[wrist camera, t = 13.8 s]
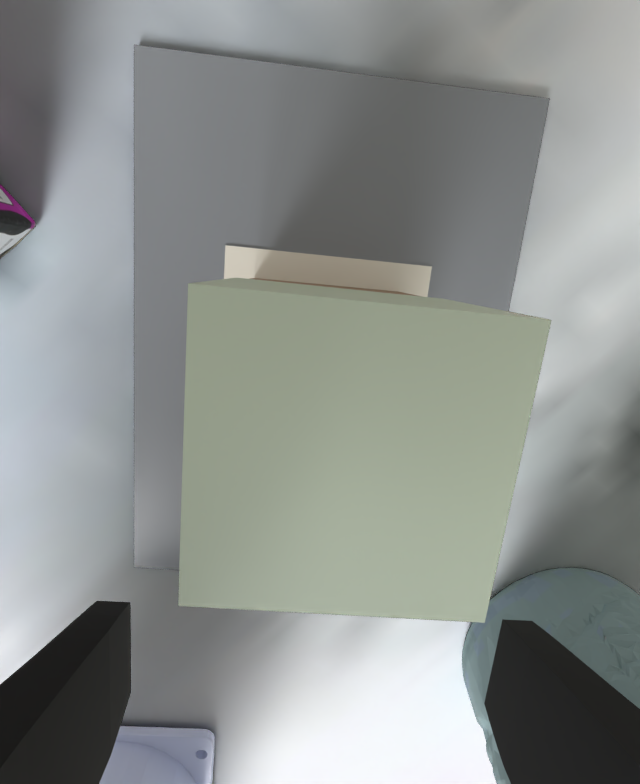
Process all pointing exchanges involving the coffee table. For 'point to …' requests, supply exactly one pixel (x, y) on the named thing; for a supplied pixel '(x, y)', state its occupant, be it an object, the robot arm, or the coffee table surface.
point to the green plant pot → (560, 633)
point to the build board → (305, 212)
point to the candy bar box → (12, 222)
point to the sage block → (349, 449)
